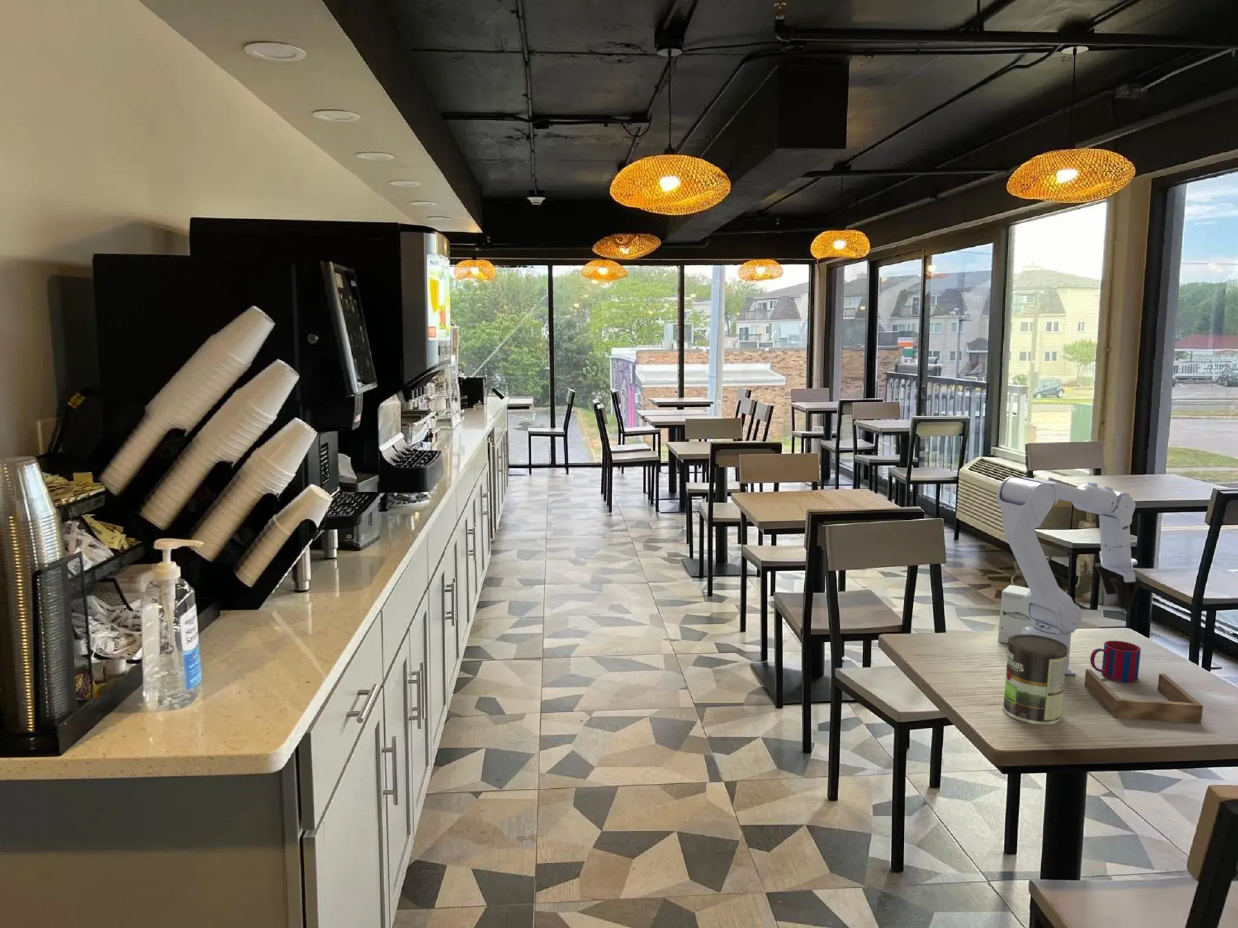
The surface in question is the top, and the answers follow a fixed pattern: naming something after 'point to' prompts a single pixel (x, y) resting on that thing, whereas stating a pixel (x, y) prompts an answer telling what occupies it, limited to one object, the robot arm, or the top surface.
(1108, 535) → the robot arm
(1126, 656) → the mug
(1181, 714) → the holder
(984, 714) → the top surface
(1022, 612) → the supplement box
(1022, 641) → the coffee can
